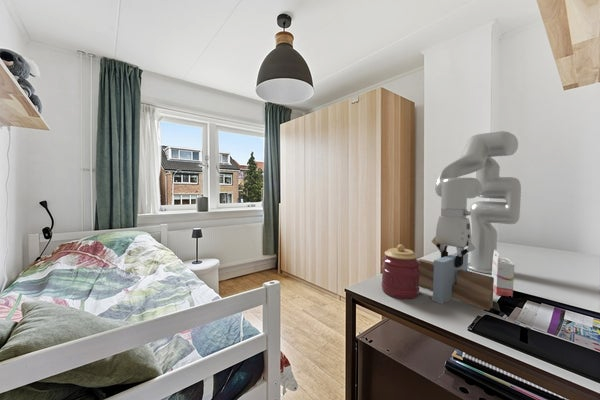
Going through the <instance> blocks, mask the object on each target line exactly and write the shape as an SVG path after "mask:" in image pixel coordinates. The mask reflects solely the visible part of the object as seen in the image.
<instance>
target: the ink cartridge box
mask: <svg viewBox="0 0 600 400" xmlns="http://www.w3.org/2000/svg"><path fill="white" fill-rule="evenodd" d="M495 255H496V256H495ZM515 265H516V264H514V262H512V261H511V260H510V259H509V258H507V257H500V253H499V252H498V251H497V250H494V254H493V264H492V274H491V277H494V287H493V292H494V293H495V294H496V295H498V296H502V297H504V296H505V297H509V296H511V298H513V296H514V295H513V294H514V281H515V278H514V277H515V276H514V275H515Z"/></svg>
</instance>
